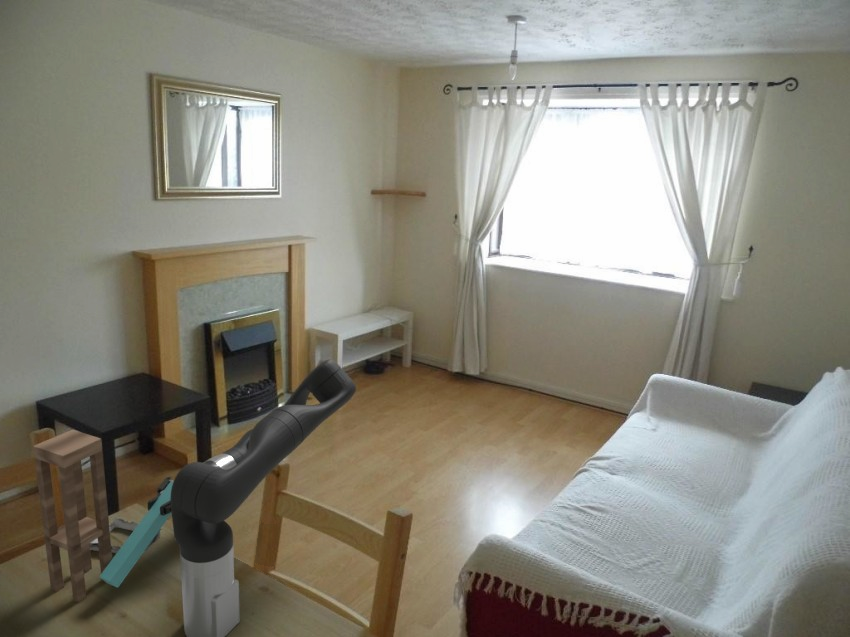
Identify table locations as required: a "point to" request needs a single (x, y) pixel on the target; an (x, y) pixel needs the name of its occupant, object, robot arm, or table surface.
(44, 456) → the walnut stand
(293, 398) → the robot arm
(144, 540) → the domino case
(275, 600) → the table surface
